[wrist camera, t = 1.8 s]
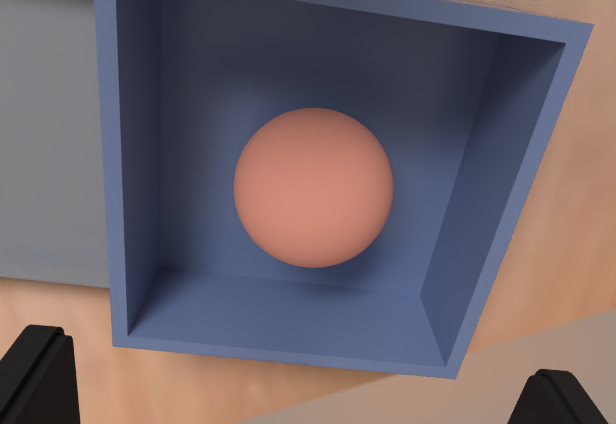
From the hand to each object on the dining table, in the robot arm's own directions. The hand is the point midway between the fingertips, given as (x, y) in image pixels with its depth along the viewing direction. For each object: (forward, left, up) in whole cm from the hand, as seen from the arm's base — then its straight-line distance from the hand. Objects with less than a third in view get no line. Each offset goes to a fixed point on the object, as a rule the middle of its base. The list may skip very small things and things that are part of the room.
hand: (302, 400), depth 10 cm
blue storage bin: (0, -1, -13) cm, 13 cm away
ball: (0, -1, -10) cm, 10 cm away
